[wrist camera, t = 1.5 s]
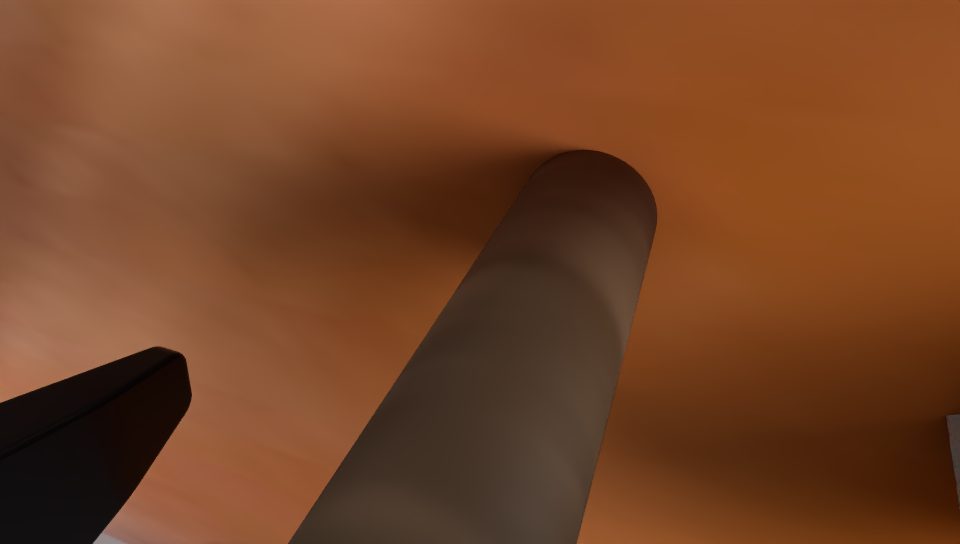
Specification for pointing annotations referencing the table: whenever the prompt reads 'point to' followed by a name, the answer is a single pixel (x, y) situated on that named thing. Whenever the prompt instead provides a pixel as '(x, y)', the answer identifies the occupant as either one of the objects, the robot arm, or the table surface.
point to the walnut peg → (507, 377)
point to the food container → (955, 446)
